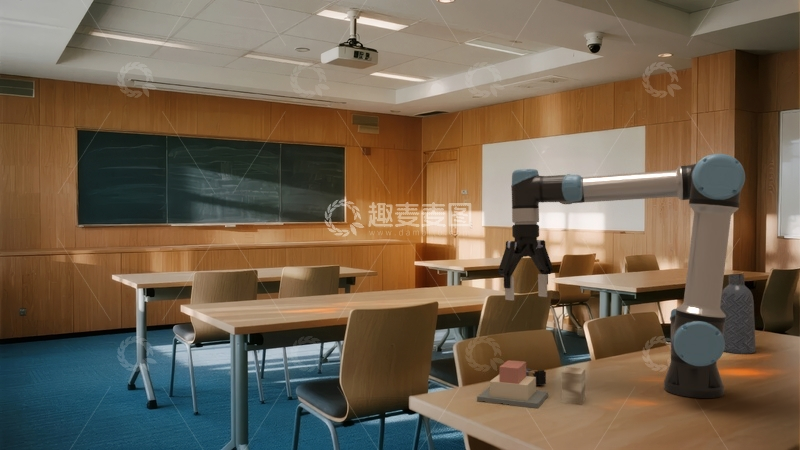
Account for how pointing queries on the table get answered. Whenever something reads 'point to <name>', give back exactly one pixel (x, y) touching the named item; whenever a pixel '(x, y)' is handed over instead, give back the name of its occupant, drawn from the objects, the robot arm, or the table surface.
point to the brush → (537, 375)
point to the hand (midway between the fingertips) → (526, 298)
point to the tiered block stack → (513, 387)
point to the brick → (573, 385)
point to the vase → (738, 317)
